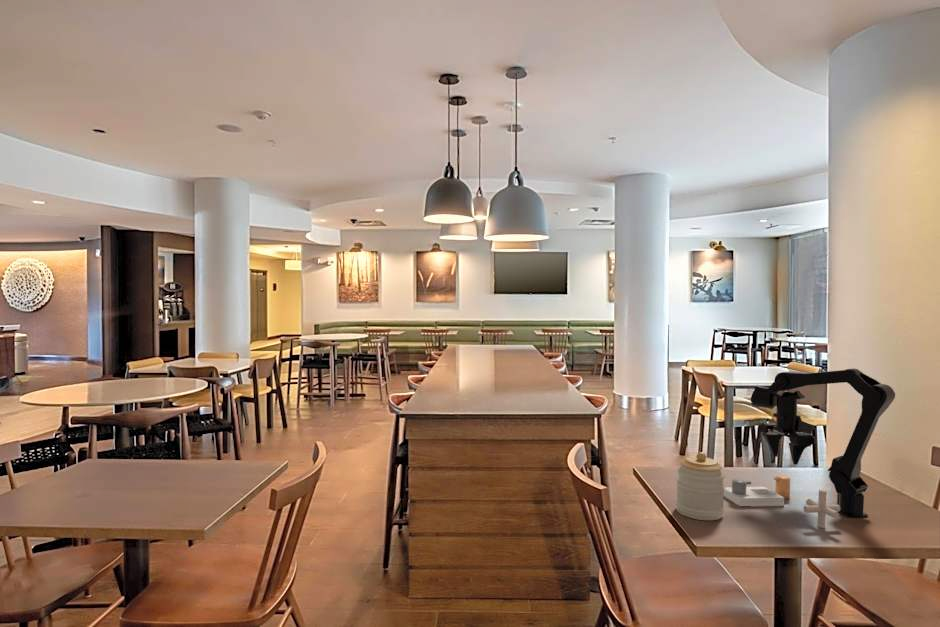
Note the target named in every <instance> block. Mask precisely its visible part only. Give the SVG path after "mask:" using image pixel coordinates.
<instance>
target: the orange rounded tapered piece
mask: <svg viewBox="0 0 940 627" xmlns="http://www.w3.org/2000/svg"><path fill="white" fill-rule="evenodd" d="M774 480H775V491H774V492H775V493H777V494H778V495H780V496H782V497H784V500H785V499H787V500H788V499H790V497H791V494H790V493H791V478H790V477H789V476H785V475H776V476H774Z"/></svg>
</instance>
